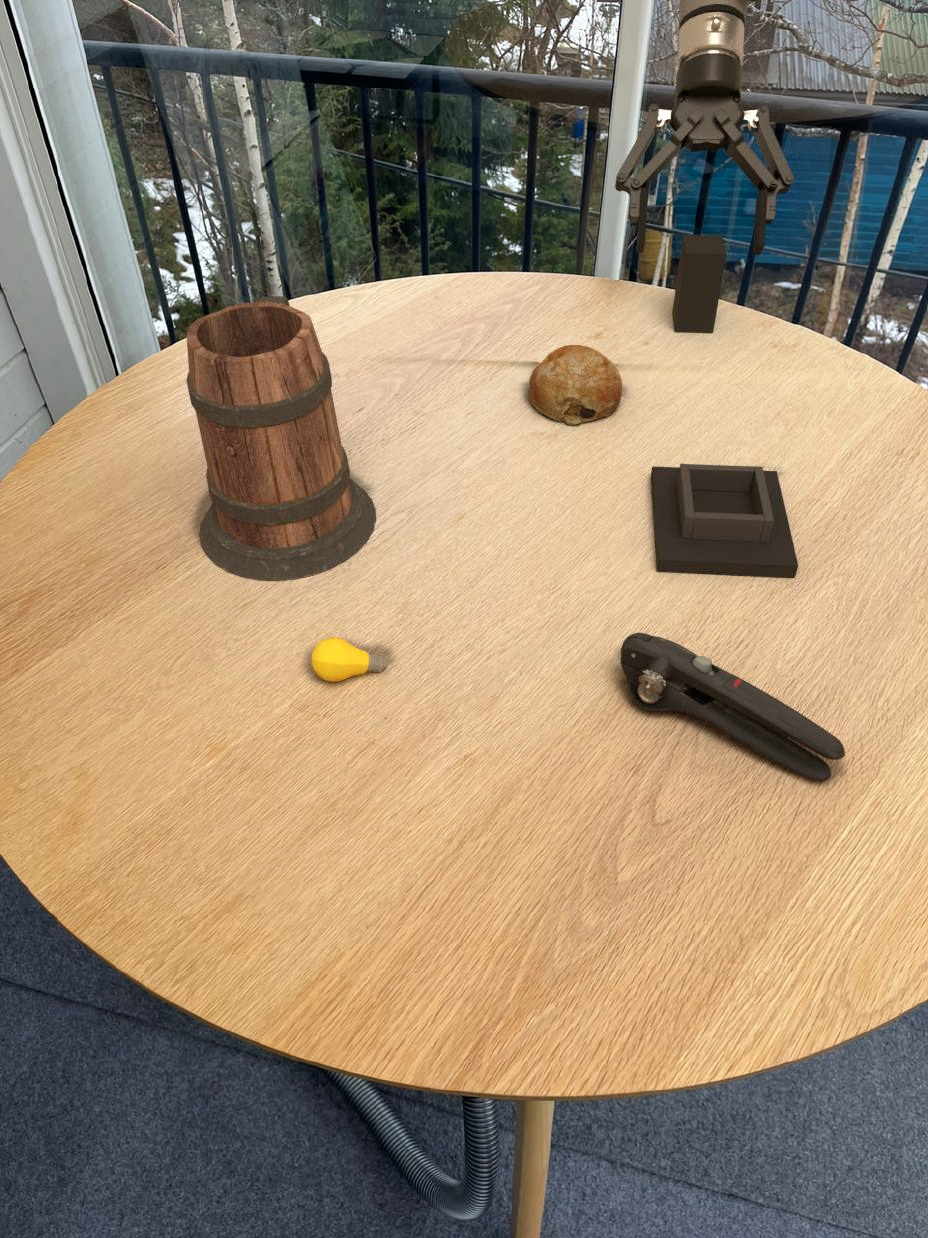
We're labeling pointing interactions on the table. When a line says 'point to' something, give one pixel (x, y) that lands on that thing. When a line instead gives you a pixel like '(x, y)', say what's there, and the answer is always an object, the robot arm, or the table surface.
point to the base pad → (721, 521)
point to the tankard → (272, 445)
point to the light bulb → (343, 660)
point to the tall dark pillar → (698, 283)
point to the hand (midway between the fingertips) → (699, 249)
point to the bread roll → (575, 385)
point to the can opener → (725, 704)
